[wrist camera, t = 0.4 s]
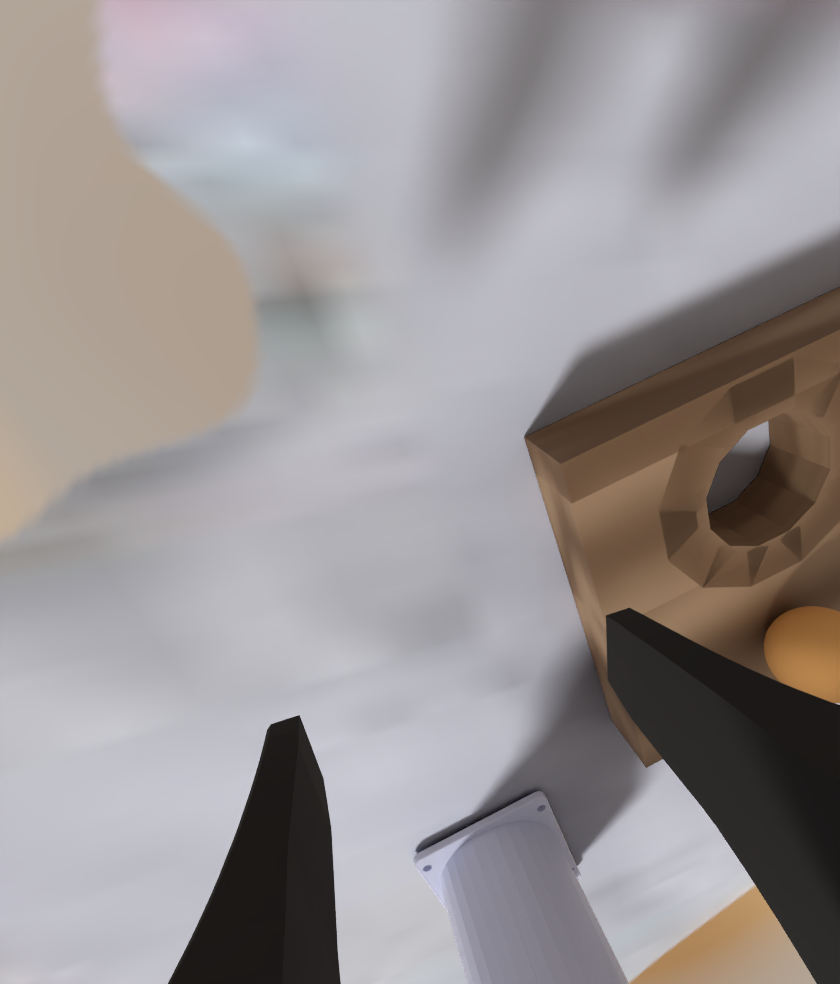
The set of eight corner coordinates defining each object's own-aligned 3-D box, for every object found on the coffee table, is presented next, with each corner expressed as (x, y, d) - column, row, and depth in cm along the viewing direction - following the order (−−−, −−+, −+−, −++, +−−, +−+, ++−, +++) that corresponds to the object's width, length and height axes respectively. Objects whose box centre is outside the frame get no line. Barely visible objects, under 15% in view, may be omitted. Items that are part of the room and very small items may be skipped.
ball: (817, 635, 26) (903, 695, 23) (746, 673, 26) (821, 739, 23) (816, 573, 25) (908, 629, 21) (738, 613, 24) (819, 676, 21)
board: (862, 591, 31) (918, 624, 28) (612, 721, 30) (646, 767, 27) (871, 271, 23) (952, 275, 20) (524, 437, 22) (560, 464, 19)
